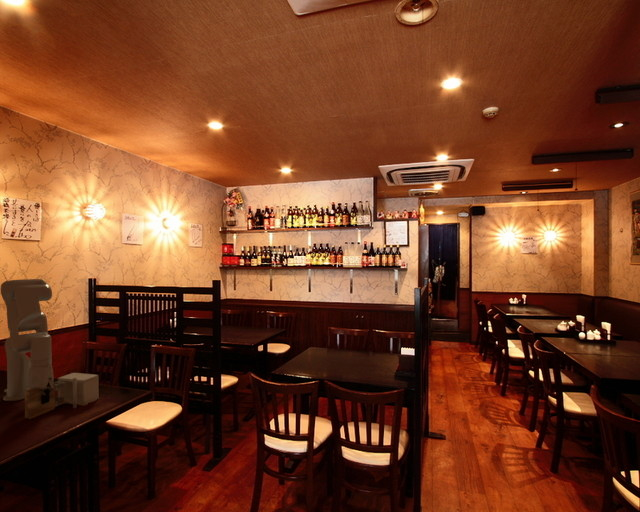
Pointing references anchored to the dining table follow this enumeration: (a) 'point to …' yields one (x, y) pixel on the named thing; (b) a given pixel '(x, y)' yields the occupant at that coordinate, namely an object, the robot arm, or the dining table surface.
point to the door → (34, 401)
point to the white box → (79, 388)
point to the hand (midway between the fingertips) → (41, 402)
